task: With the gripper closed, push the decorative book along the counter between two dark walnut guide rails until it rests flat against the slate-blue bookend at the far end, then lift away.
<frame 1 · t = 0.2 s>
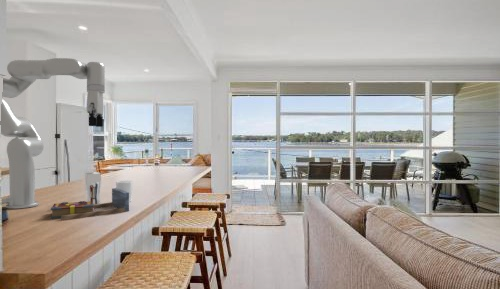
hand: (96, 126, 156), 37 cm above the table, tool pointing down, fingers open, 9 cm apart
beer glass: (93, 204, 158), on the table
decorative book: (74, 215, 139), on the table, touching guide rails
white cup: (124, 202, 166), on the table
guide rails: (89, 212, 142), on the table
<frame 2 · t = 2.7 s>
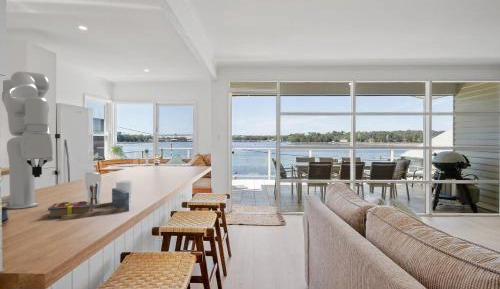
hand: (37, 176, 129), 17 cm above the table, tool pointing down, fingers closed
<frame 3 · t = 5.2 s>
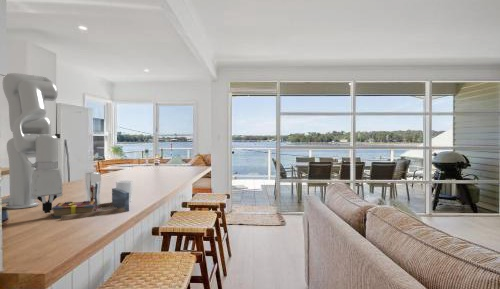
hand: (47, 212, 132), 2 cm above the table, tool pointing down, fingers closed
decorative book: (77, 215, 139), on the table, touching gripper, guide rails
everything else where it was.
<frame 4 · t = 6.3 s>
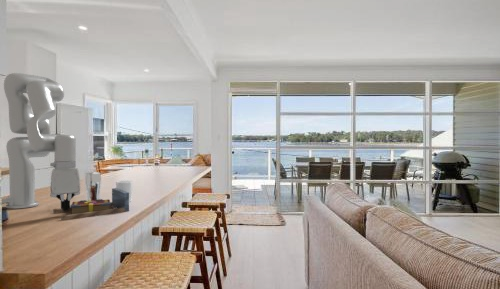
hand: (65, 210, 136), 2 cm above the table, tool pointing down, fingers closed
decorative book: (92, 213, 143), on the table, touching gripper, guide rails
everything else where it was.
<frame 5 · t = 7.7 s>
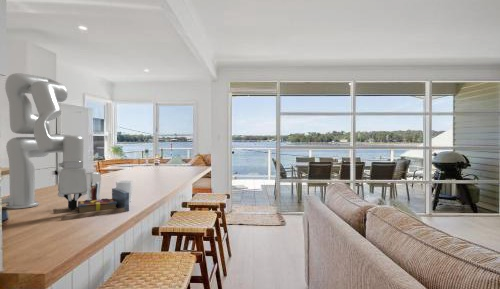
hand: (72, 209, 138), 2 cm above the table, tool pointing down, fingers closed
decorative book: (98, 212, 145), on the table, touching gripper, guide rails
everything else where it was.
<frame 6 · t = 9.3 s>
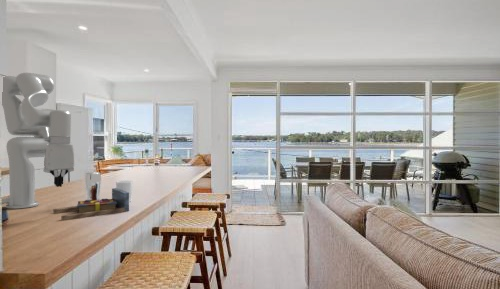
hand: (58, 186, 135), 12 cm above the table, tool pointing down, fingers closed
decorative book: (98, 212, 145), on the table, touching guide rails
everything else where it was.
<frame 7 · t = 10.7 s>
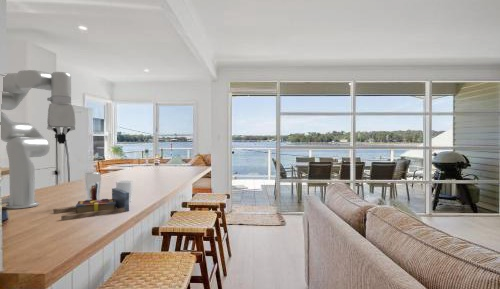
hand: (61, 143, 145), 29 cm above the table, tool pointing down, fingers closed
nothing on the table moved.
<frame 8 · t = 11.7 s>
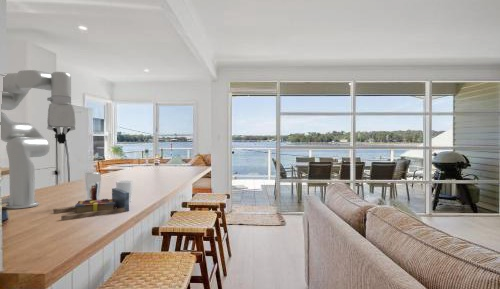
hand: (61, 143, 145), 29 cm above the table, tool pointing down, fingers closed
nothing on the table moved.
at the end: decorative book inside the target area (0.5 cm from its centre), on the table; decorative book tilted 0°; decorative book moved 8.3 cm from its start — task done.
